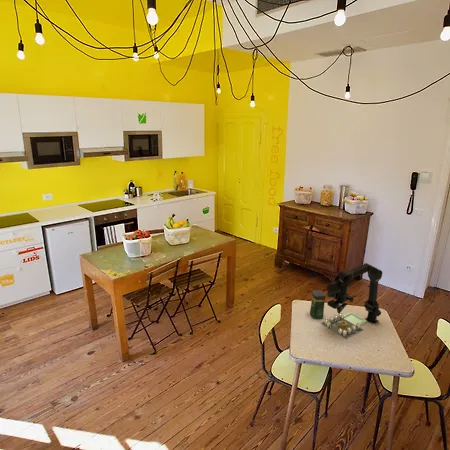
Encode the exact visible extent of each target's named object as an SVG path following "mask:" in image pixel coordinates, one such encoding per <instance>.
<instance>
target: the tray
mask: <svg viewBox="0 0 450 450" xmlns="http://www.w3.org/2000/svg"><path fill="white" fill-rule="evenodd" d="M342 318H344V319H345V320H347V321H349V322H351V323H352V324H354V325H356V324H357V323H360V327H361V326H363V325H364V324H367V322H368V321H367V320H365V319H366V318H364V317H362V316H360V315H358V314H356V313H354V312H352V311H351V312H348V313H346V314H344V315H342Z"/></svg>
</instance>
